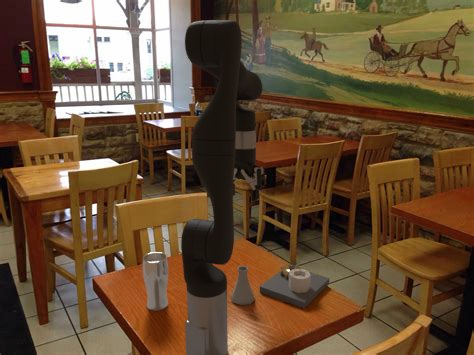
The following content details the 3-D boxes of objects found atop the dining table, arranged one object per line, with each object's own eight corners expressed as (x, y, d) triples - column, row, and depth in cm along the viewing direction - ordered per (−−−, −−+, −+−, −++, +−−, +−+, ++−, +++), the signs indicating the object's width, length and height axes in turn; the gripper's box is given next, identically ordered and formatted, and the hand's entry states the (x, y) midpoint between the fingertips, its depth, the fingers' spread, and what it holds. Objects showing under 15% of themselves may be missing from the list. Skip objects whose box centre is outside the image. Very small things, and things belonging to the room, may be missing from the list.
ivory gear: (303, 294, 119) (304, 280, 118) (285, 288, 122) (285, 274, 121) (312, 286, 124) (313, 272, 122) (295, 280, 127) (295, 267, 126)
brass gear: (296, 282, 126) (296, 273, 125) (275, 275, 130) (275, 266, 130) (307, 272, 132) (307, 264, 131) (287, 266, 136) (287, 258, 135)
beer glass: (145, 313, 114) (142, 264, 110) (144, 300, 120) (141, 253, 116) (171, 309, 115) (168, 260, 112) (168, 296, 122) (166, 250, 118)
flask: (252, 307, 116) (253, 275, 114) (228, 304, 118) (227, 272, 115) (256, 293, 123) (257, 263, 121) (233, 291, 125) (233, 261, 122)
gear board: (304, 308, 116) (304, 291, 114) (259, 292, 124) (259, 275, 123) (329, 283, 129) (330, 268, 127) (287, 270, 137) (287, 255, 136)
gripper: (216, 144, 121) (217, 197, 125) (255, 150, 112) (255, 206, 116) (231, 141, 126) (232, 191, 131) (270, 146, 118) (269, 199, 122)
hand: (243, 198), depth 123 cm, fingers open, 8 cm apart
